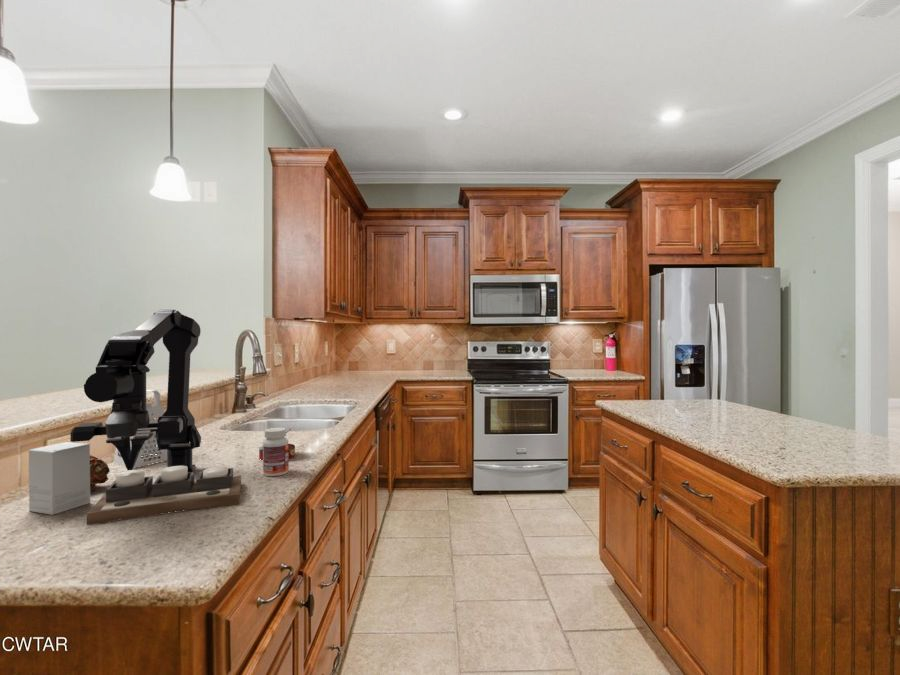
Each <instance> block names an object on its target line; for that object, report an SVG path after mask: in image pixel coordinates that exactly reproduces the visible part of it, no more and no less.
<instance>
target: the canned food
mask: <svg viewBox="0 0 900 675" xmlns="http://www.w3.org/2000/svg"><path fill="white" fill-rule="evenodd" d="M291 429H292V428H289V429H288V430H286V434H287V433H289V431H291ZM258 450H259V451H258V454H259V455H258V457H259V460H260V459H261V460H263V445H262V446H260V447H259V448H258ZM294 456H295V457H296V446H295V444H293V443H288V460H291V459H293V458H295V457H294ZM292 457H293V458H292ZM290 458H291V459H290ZM261 460H260V461H261Z"/></svg>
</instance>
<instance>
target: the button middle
mask: <svg viewBox="0 0 900 675" xmlns="http://www.w3.org/2000/svg"><path fill="white" fill-rule="evenodd" d="M160 475H161V483H167V482H176V481H185V480H187V479H188V467H187V466H172V467H167V466H166V467H164V468H162V469H161V470H160Z"/></svg>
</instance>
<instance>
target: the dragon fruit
mask: <svg viewBox="0 0 900 675" xmlns="http://www.w3.org/2000/svg"><path fill="white" fill-rule="evenodd" d="M110 471H111V470H110V467H109V466H108V464H107V463H106V461H104V460H102V459H99V458H98V457H96V456H94V455H91V454H90V491H92V490H95V487H96V485H97V484H99V485H101V484H105V483H106V482H107V481H108V480H109V477H108V475H109V473H110Z"/></svg>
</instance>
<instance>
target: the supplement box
mask: <svg viewBox="0 0 900 675" xmlns="http://www.w3.org/2000/svg"><path fill="white" fill-rule="evenodd" d="M90 447H91V445H90V443H81V442H80V443H79V442H71V441H70V442H68V441H67V442H60V443H54V444H49V445H46V446H40V447H34V448H31V449H28V495H29V496H28V502H29V503H28V506H29V507H28V510H29V512H34V513H40V514H46V515H50V516H51V515H52V516H53V515H57V514H60V513H63V512H67V511H69V510H72V509H73V510H74V509H76V508H79V507H82V506H86V505H88V504H90V503H91V490H90V455H91V452H90V451H91V448H90Z"/></svg>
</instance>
